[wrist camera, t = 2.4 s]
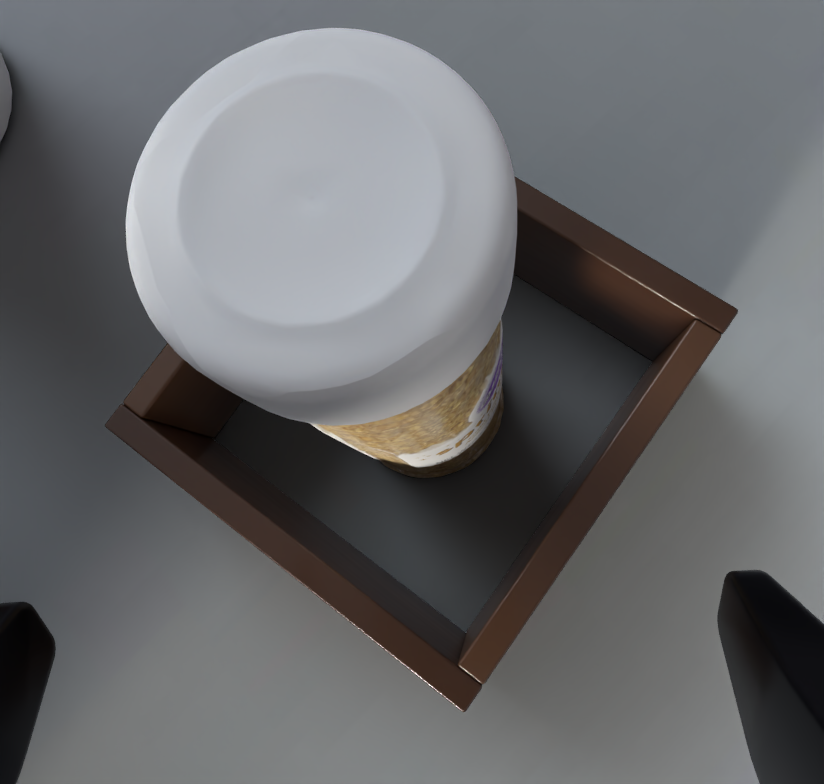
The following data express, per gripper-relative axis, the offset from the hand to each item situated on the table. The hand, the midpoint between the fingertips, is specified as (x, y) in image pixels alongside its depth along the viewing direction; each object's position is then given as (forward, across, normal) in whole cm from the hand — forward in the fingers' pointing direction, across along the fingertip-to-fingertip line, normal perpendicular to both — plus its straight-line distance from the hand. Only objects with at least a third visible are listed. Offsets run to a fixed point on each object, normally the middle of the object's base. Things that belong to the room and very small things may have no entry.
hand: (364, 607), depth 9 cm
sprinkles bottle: (+11, 0, +5) cm, 12 cm away
